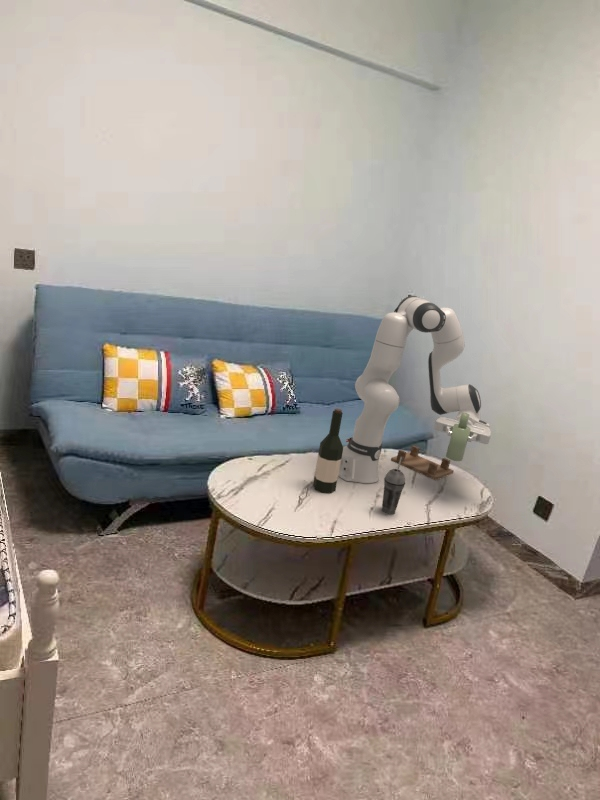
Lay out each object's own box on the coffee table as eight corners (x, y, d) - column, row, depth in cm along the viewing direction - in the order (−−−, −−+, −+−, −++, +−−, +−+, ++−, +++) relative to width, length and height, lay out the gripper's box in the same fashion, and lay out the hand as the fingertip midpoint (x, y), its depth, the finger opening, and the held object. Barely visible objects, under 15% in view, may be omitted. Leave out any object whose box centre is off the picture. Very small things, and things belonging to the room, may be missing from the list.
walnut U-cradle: (390, 460, 261) (393, 449, 260) (408, 454, 272) (410, 443, 270) (436, 480, 248) (439, 468, 246) (453, 473, 258) (455, 461, 257)
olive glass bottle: (442, 455, 225) (453, 412, 220) (451, 452, 230) (462, 409, 224) (457, 462, 222) (468, 418, 216) (465, 458, 226) (477, 415, 220)
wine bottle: (333, 495, 219) (348, 415, 211) (310, 490, 220) (324, 410, 212) (337, 486, 227) (351, 408, 219) (314, 481, 228) (328, 404, 220)
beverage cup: (374, 510, 212) (385, 456, 207) (383, 504, 218) (394, 451, 213) (392, 518, 209) (404, 464, 203) (402, 512, 215) (414, 458, 209)
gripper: (439, 410, 237) (433, 420, 224) (494, 425, 230) (490, 436, 218) (436, 425, 239) (429, 436, 226) (489, 440, 232) (485, 453, 220)
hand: (459, 436), depth 222 cm, fingers closed on olive glass bottle, 6 cm apart
